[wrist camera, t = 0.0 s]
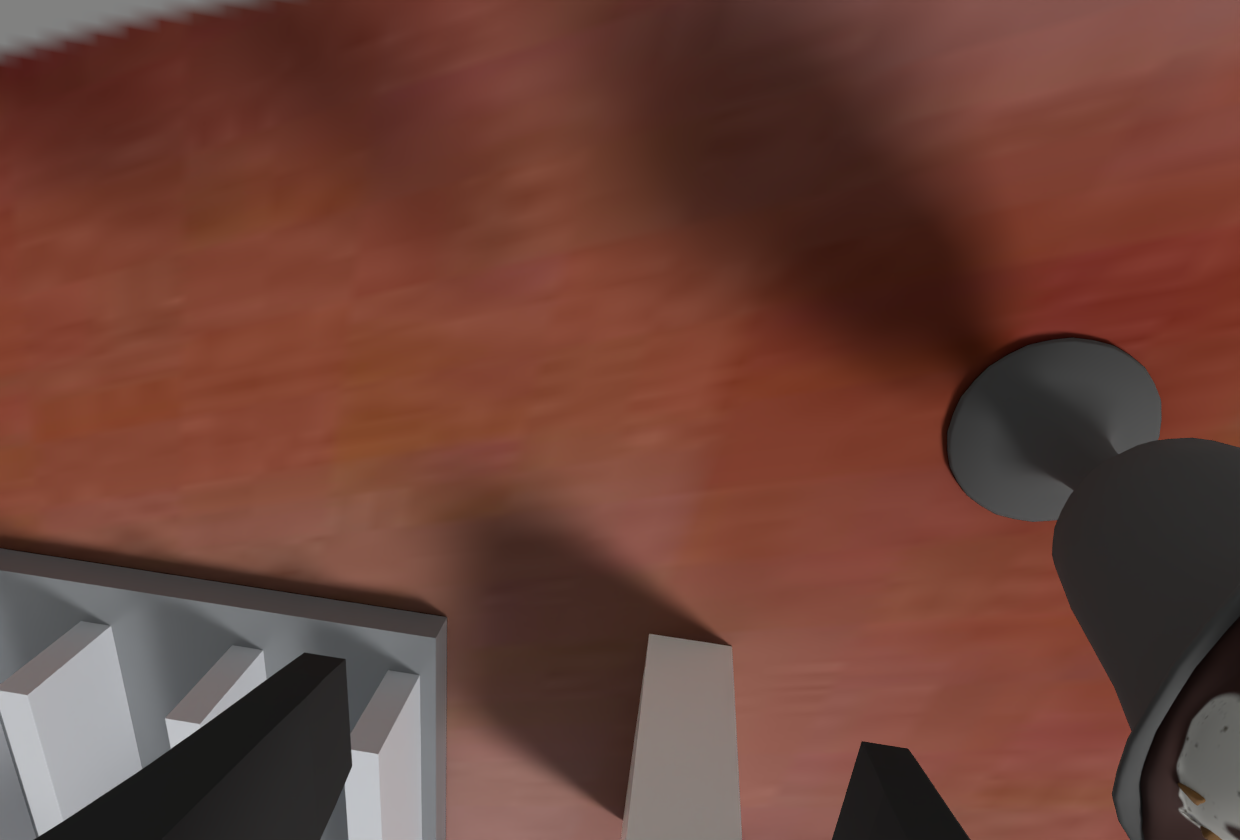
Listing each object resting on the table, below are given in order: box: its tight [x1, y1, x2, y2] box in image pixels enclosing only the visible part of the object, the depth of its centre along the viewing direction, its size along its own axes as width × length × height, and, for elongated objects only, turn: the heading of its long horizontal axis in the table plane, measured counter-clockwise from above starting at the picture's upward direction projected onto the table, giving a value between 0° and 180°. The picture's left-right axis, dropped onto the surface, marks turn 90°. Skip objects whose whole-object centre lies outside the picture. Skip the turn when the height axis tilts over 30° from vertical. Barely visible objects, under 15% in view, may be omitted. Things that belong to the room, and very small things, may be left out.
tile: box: [621, 634, 742, 840], centre depth 20 cm, size 8×2×7 cm, turn 175°
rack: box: [0, 548, 447, 840], centre depth 24 cm, size 15×17×4 cm
